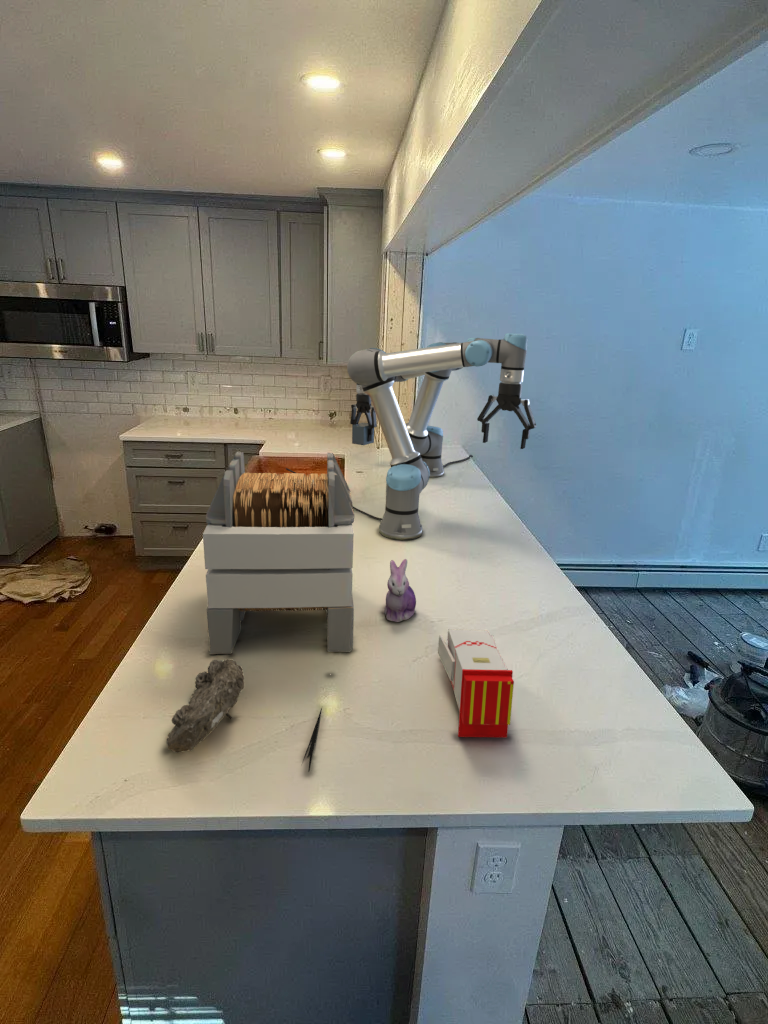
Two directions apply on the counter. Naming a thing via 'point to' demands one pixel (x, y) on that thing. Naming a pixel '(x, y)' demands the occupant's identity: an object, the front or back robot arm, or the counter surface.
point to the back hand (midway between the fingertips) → (363, 439)
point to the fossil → (206, 705)
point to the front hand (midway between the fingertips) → (503, 445)
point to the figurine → (399, 594)
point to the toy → (478, 682)
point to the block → (361, 434)
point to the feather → (313, 740)
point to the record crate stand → (279, 550)
